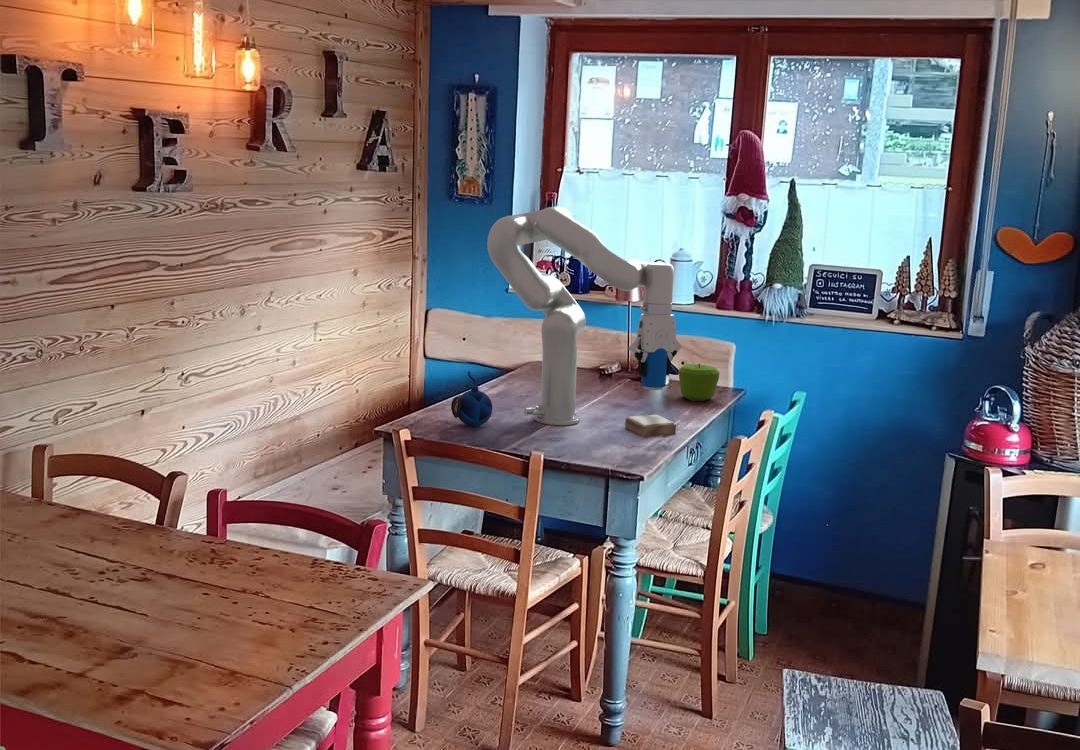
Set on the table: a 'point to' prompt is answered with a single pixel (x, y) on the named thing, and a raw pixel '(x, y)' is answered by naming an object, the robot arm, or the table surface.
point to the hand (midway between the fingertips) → (653, 374)
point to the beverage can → (655, 370)
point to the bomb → (472, 406)
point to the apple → (698, 381)
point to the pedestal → (650, 425)
